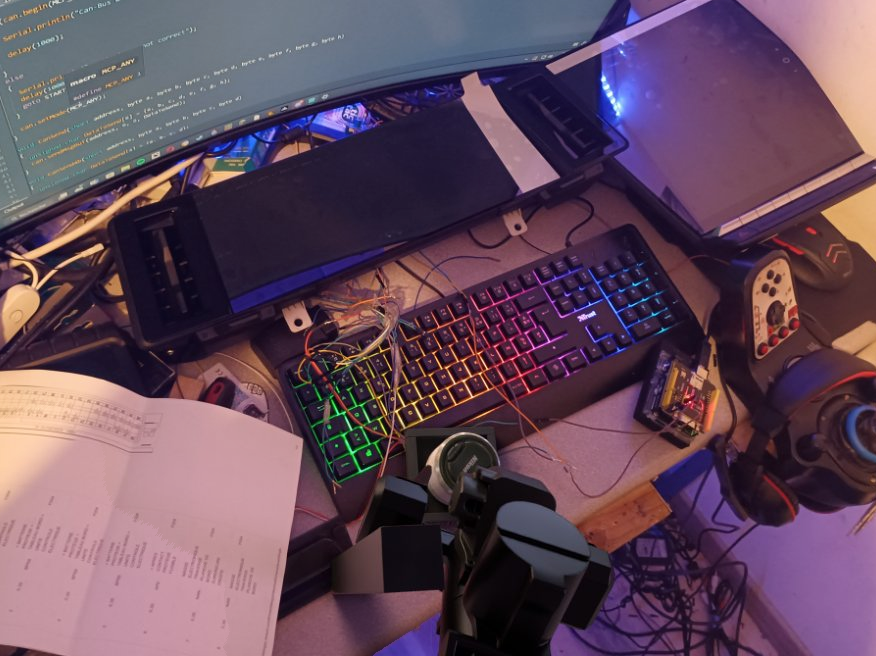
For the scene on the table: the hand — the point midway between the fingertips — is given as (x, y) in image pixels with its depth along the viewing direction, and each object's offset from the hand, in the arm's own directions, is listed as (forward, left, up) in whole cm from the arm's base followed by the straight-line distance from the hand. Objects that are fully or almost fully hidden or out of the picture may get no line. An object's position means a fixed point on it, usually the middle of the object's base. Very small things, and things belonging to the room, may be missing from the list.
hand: (482, 488), depth 62 cm
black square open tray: (+3, 0, -12) cm, 13 cm away
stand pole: (-6, +11, -12) cm, 18 cm away
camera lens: (+3, 0, -12) cm, 12 cm away
